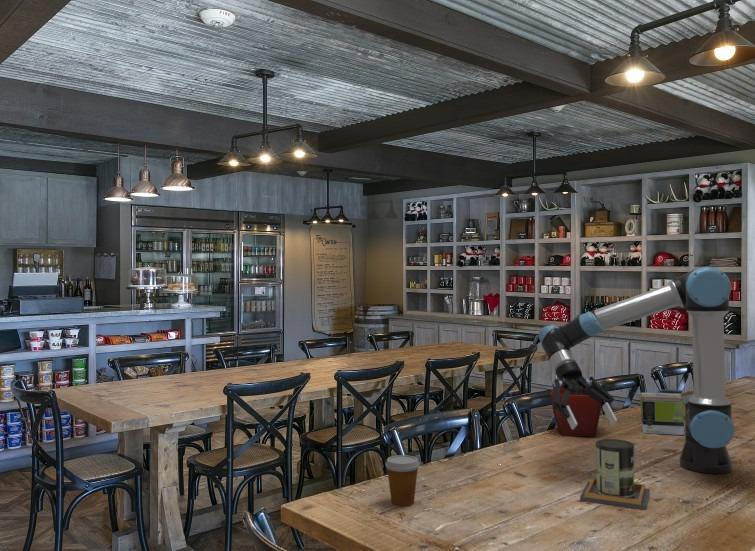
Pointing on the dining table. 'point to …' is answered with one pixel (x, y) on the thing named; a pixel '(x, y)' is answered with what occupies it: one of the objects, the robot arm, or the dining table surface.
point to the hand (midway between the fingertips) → (594, 425)
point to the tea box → (662, 413)
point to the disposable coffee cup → (402, 478)
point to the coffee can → (615, 467)
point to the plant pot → (578, 414)
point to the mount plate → (634, 502)
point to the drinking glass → (671, 392)
